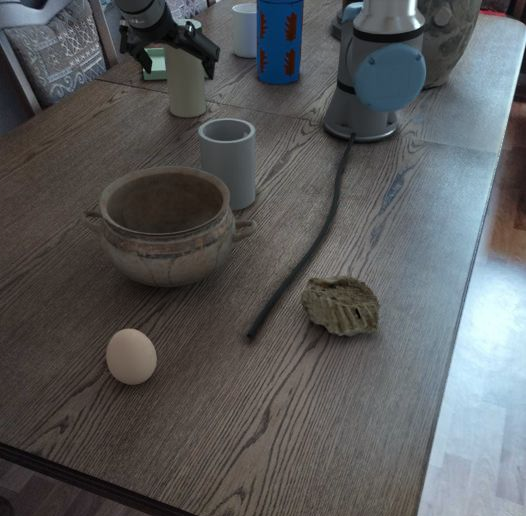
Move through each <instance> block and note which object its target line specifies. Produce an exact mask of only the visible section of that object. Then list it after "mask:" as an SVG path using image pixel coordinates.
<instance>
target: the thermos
mask: <svg viewBox="0 0 526 516" xmlns="http://www.w3.org/2000/svg"><path fill="white" fill-rule="evenodd" d="M256 4H257V57H256V76H257V79H259V81H261V82H263V83H265V84H266V83H267V84H272V85H285V84H286V85H287V84H291V83H294V82H296V81H298V79H299V78H300V71H301V63H302V62H301V61H302V45H303V44H302V43H303V26H304V25H303V24H304V8H305V7H304V5H305V0H256Z"/></svg>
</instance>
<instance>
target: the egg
mask: <svg viewBox="0 0 526 516" xmlns="http://www.w3.org/2000/svg"><path fill="white" fill-rule="evenodd" d="M105 358H106V365H107V368H108V370H109V373H110V374H111V375H112V376H113V377H114V378H115V379H116V380H117V381H119V382H120V383H122V384H126V385H128V386H129V385H131V386H134V385H139V384H140V385H141V384H142V383H144V382H146V381H147V380H148V379H149V378H151V376H152V375H153V373H154V372H155V370H156V368H157V363H158V362H157V361H158V357H157V352H156V349H155V346H154V344H153V342H152V341H151V340H150V338H149V337H148V336H146V334H145V333H143V332H142V331H140V330H138V329H135V328H123V329H121V330H119V331H117V332H116V333H114V335H113V336H112V337H111V339H110V340H109V342H108V344H107V347H106V353H105Z"/></svg>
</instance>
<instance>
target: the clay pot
mask: <svg viewBox="0 0 526 516" xmlns="http://www.w3.org/2000/svg"><path fill="white" fill-rule="evenodd" d="M482 3H483V0H418V1H417V8H418V10H419V11H420V13H421V14H422V15H423V16H424V18H425V24H424V32H423V41H422V50H421V54H422V55H423V57H424V60H425V63H426V64H425V66H426V78H425V82H424V85H423V87H422V89H421V90H424V89H425V90H426V89H431V88H437V87H439V86H442V85H444V84H445V83H446V82H447V80H448V78H449V76H450V74H451V73H452V71H453V70H454V68H455V67H456V66H457V64H458V63H459V61H460V60H461V58H462V57H463V55H464V54H465V51H466V49H467V47H468V45H469V43H470V40H471V38H472V35H473V33H474V31H475V28H476V26H477V22H478V19H479V15H480V11H481V5H482Z"/></svg>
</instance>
